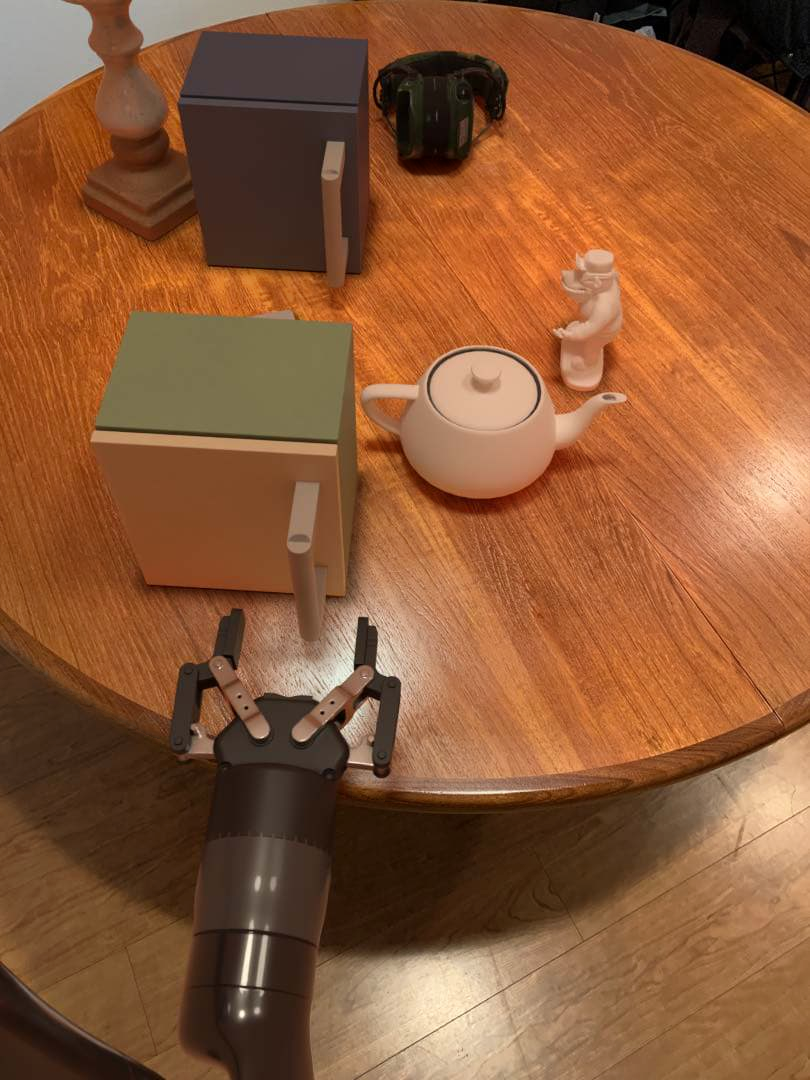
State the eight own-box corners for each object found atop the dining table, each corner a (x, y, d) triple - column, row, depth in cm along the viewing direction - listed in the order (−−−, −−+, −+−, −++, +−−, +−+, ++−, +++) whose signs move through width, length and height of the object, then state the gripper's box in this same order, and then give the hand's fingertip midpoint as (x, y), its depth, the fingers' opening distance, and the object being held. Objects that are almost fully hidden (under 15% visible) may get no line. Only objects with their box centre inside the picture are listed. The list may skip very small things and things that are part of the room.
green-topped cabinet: (346, 584, 75) (337, 439, 60) (150, 572, 75) (93, 425, 60) (357, 477, 81) (353, 322, 66) (176, 467, 81) (131, 310, 67)
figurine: (545, 321, 93) (565, 219, 83) (610, 328, 93) (638, 226, 83) (541, 387, 88) (562, 287, 78) (610, 394, 87) (640, 295, 78)
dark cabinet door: (355, 311, 93) (351, 151, 78) (197, 302, 93) (163, 141, 78) (361, 267, 97) (358, 106, 82) (209, 258, 97) (178, 96, 82)
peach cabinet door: (337, 661, 71) (326, 529, 56) (130, 648, 71) (65, 513, 56) (345, 586, 75) (337, 444, 60) (149, 574, 75) (93, 429, 60)
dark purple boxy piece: (361, 266, 97) (358, 103, 82) (210, 258, 97) (179, 93, 82) (369, 201, 103) (368, 39, 88) (227, 194, 103) (201, 30, 89)
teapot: (353, 506, 79) (349, 422, 71) (369, 389, 87) (367, 300, 78) (610, 525, 79) (639, 443, 70) (602, 406, 87) (628, 319, 78)
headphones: (531, 133, 101) (512, 65, 115) (449, 40, 94) (439, -22, 108) (441, 215, 108) (433, 140, 122) (358, 133, 101) (360, 64, 114)
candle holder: (152, 243, 98) (94, 10, 79) (81, 203, 102) (9, -30, 82) (223, 193, 103) (186, -37, 84) (154, 157, 107) (102, -72, 87)
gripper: (389, 850, 51) (406, 596, 60) (131, 833, 51) (187, 582, 60) (388, 885, 57) (404, 649, 66) (158, 869, 57) (205, 637, 66)
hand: (301, 617), depth 63 cm, fingers open, 8 cm apart
